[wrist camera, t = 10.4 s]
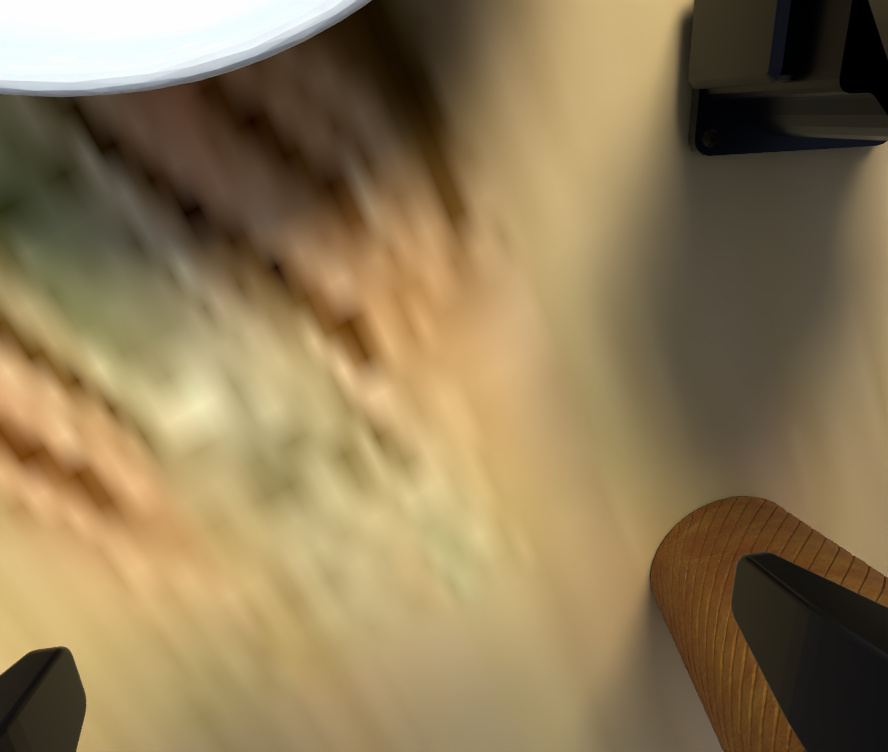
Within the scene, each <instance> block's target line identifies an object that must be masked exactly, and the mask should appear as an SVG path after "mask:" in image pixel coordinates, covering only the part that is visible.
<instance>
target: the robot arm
mask: <svg viewBox="0 0 888 752" xmlns="http://www.w3.org/2000/svg"><path fill="white" fill-rule="evenodd" d="M688 81H689V83H690V84H691V86H692V87H693V89H692V101H691V112H690V124H689V135H688V142H689V146H690V148H691V150H692V151H693V152H694V153H696V154H699V155H707V156H713V155H730V154H746V153H763V152H779V151H796V150H812V149H829V148H845V147H862V146H877V145H881V144H883V143H885V142H886V141H888V0H695V2H694V14H693V26H692V38H691V50H690V62H689V73H688ZM707 130H710V132H711V134H712V139H711V142H710V143H709V144H708V145H707V146H705V145H704V144H703V139H702V138H703V135H704V133H705V132H706V131H707ZM731 609H732V613H733V616H734V619H735V621H736V623H737V625H738V627H739V629H740V631H741V633H742V635H743V637H744V639H745V640H746V642H747V644H748V646H749V648H750V650H751V652H752V654H753V656H754V658H755V660H756V662H757V664H758V666H759V668H760V670H761V672H762V674H763V676H764V678H765V680H766V682H767V684H768V685H769V687H770V689H771V691H772V693H773V695H774V697H775V699H776V701H777V703H778V705H779V707H780V709H781V710H782V712H783V714H784V716H785V718H786V720H787V721H788V723H789V725H790V726H791V728H792V729H793V731H794V733H795V734H796V736H797V738H798V739H799V741H800V742H801V744H802V746H803V747H804V749H805V750H806V752H888V607H887V606H885V605H882V604H880V603H878V602H876V601H874V600H872V599H870V598H867V597H865V596H863V595H861V594H859V593H857V592H854V591H852V590H850V589H848V588H846V587H844V586H842V585H839V584H837V583H835V582H833V581H831V580H829V579H827V578H824V577H822V576H820V575H818V574H816V573H814V572H812V571H809V570H807V569H805V568H803V567H801V566H799V565H797V564H794V563H792V562H790V561H788V560H786V559H784V558H781V557H779V556H777V555H775V554H773V553H770V552H759V553H752V554H745V555H742V556H740V557H739V559H738V560H737V563H736V569H735V576H734V583H733V589H732V596H731ZM85 712H86V695H85V691H84V688H83V685H82V682H81V679H80V676H79V673H78V670H77V667H76V664H75V661H74V658H73V655H72V653H71V651H70V650H69V649H68V648H66V647H61V646H60V647H53V648H46V649H38V650H34V651H31V652H29V653H28V654H26V655H25V656H24V657H22V658H21V659H20V660H19V661H17V662H16V663H15V664H14V665H12V666H11V667H10V668H9V669H7V670H6V671H5V672H4V673H2V674H1V675H0V752H76V749H77V745H78V741H79V737H80V733H81V729H82V725H83V721H84V717H85Z"/></svg>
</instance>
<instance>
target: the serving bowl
mask: <svg viewBox="0 0 888 752" xmlns="http://www.w3.org/2000/svg"><path fill="white" fill-rule="evenodd" d="M370 1H372V0H0V94H4V95H25V96H47V97H74V96H94V95H112V94H121V93H130V92H140V91H149V90H155V89H160V88H165V87H170V86H175V85H180V84H186V83H191V82H196V81H200V80H204V79H207V78H210V77H214V76H217V75H221V74H224V73H227V72H231V71H234V70H237V69H239V68H242V67H245V66H248V65H250V64H253V63H256V62H258V61H261V60H264V59H267V58H269V57H272V56H274V55H276V54H278V53H280V52H283V51H285V50H287V49H289V48H291V47H293V46H295V45H297V44H300V43H302V42H304V41H306V40H308V39H310V38H311V37H313V36H315V35H317V34H319V33H320V32H322V31H324V30H326V29H328V28H329V27H331V26H333V25H335V24H337V23H338V22H340V21H342V20H343V19H345V18H346V17H348V16H349V15H351V14H353V13H354V12H356V11H357V10H359V9H360V8H362V7H363V6H365V5H366V4H367V3H369V2H370Z"/></svg>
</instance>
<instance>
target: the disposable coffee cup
mask: <svg viewBox="0 0 888 752" xmlns="http://www.w3.org/2000/svg"><path fill="white" fill-rule="evenodd" d="M759 552H770V553H773V554H775V555H777V556H779V557H781V558H784V559H786V560H788V561H790V562H792V563H794V564H797V565H799V566H801V567H803V568H805V569H807V570H809V571H812V572H814V573H816V574H818V575H820V576H822V577H824V578H827V579H829V580H831V581H833V582H835V583H837V584H839V585H842V586H844V587H846V588H848V589H850V590H852V591H854V592H857V593H859V594H861V595H863V596H865V597H867V598H870V599H872V600H874V601H876V602H878V603H880V604H882V605H885V606H887V607H888V578H887V577H885V576H884V575H883V574H881V573H880V572H878V571H877V570H875V569H873V568H872V567H870V566H868V565H867V564H866V563H865V562H863V561H862V560H860V559H858V558H857V557H855V556H852V555H851V553H849V552H848V551H846V550H845V549H843V548H841V547H839V546H838V545H837V544H836V543H834V542H832V541H831V540H829V539H828V538H825V536H823V535H822V534H820V533H819V532H817V531H816V530H814V529H812V528H811V527H809V526H808V525H806V524H805V523H803V522H802V521H800V520H799V519H797V518H796V517H794V516H793V515H791V514H790V513H788V512H787V511H786V510H784V509H783V508H781V507H780V506H778V505H777V504H775V503H774V502H771V501H769V500H766V499H763V498H757V497H747V496H741V497H731V498H727V499H723V500H719V501H716V502H713V503H711V504H708V505H706V506H704V507H702V508H700V509H698V510H696V511H695V512H693V513H691V514H690V515H688V516H687V517H686V518H685V519H683V520H682V521H681V522H680V523H679V524H677V525H676V526H675V527H674V528H673V530H672V531H671V532H670V533H669V534H668V535H667V536H666V538H665V539H664V541H663V542H662V544H661V546H660V547H659V549H658V551H657V553H656V556H655V559H654V561H653V564H652V570H651V586H652V592H653V595H654V597H655V600H656V602H657V604H658V606H659V609H660V611H661V613H662V615H663V617H664V620H665V622H666V624H667V626H668V628H669V631H670V633H671V635H672V638H673V640H674V642H675V644H676V646H677V649H678V651H679V653H680V655H681V657H682V659H683V662H684V664H685V666H686V669H687V670H688V673H689V675H690V677H691V680H692V682H693V684H694V686H695V688H696V691H697V693H698V695H699V697H700V699H701V702H702V704H703V706H704V709H705V711H706V714H707V715H708V717H709V720H710V722H711V724H712V727H713V729H714V731H715V733H716V735H717V737H718V740H719V742H720V745H721V747H722V749H723V751H724V752H806V750H805V749H804V747H803V746H802V744H801V742H800V741H799V739H798V738H797V736H796V734H795V733H794V731H793V729H792V728H791V726H790V725H789V723H788V721H787V720H786V718H785V716H784V714H783V712H782V710H781V709H780V707H779V705H778V703H777V701H776V699H775V697H774V695H773V693H772V691H771V689H770V687H769V685H768V684H767V682H766V680H765V678H764V676H763V674H762V672H761V670H760V668H759V666H758V664H757V662H756V660H755V658H754V656H753V654H752V652H751V650H750V648H749V646H748V644H747V642H746V640H745V639H744V637H743V635H742V633H741V631H740V629H739V627H738V625H737V623H736V621H735V619H734V616H733V613H732V609H731V596H732V589H733V583H734V576H735V569H736V563H737V560H738V559H739V557H740V556H742V555H745V554H752V553H759Z"/></svg>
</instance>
